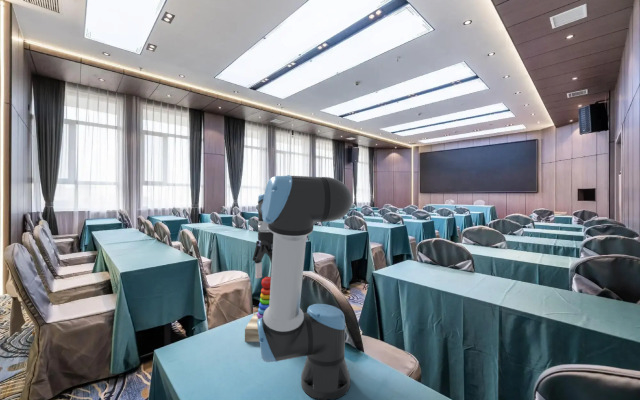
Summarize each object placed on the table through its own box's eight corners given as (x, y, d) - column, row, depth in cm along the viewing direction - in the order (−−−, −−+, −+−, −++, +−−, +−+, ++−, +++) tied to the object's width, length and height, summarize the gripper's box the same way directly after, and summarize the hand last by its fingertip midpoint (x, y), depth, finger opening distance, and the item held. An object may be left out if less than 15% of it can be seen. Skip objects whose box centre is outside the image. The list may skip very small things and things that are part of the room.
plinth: (279, 342, 109) (280, 329, 109) (244, 341, 109) (244, 328, 109) (285, 325, 123) (285, 314, 123) (253, 324, 123) (254, 313, 123)
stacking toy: (265, 327, 110) (265, 281, 110) (252, 321, 115) (252, 277, 115) (279, 320, 117) (280, 276, 116) (266, 315, 121) (267, 273, 121)
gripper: (245, 229, 122) (244, 276, 122) (275, 234, 104) (275, 290, 104) (260, 227, 127) (259, 273, 127) (292, 233, 109) (291, 286, 109)
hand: (266, 281), depth 115 cm, fingers open, 13 cm apart
